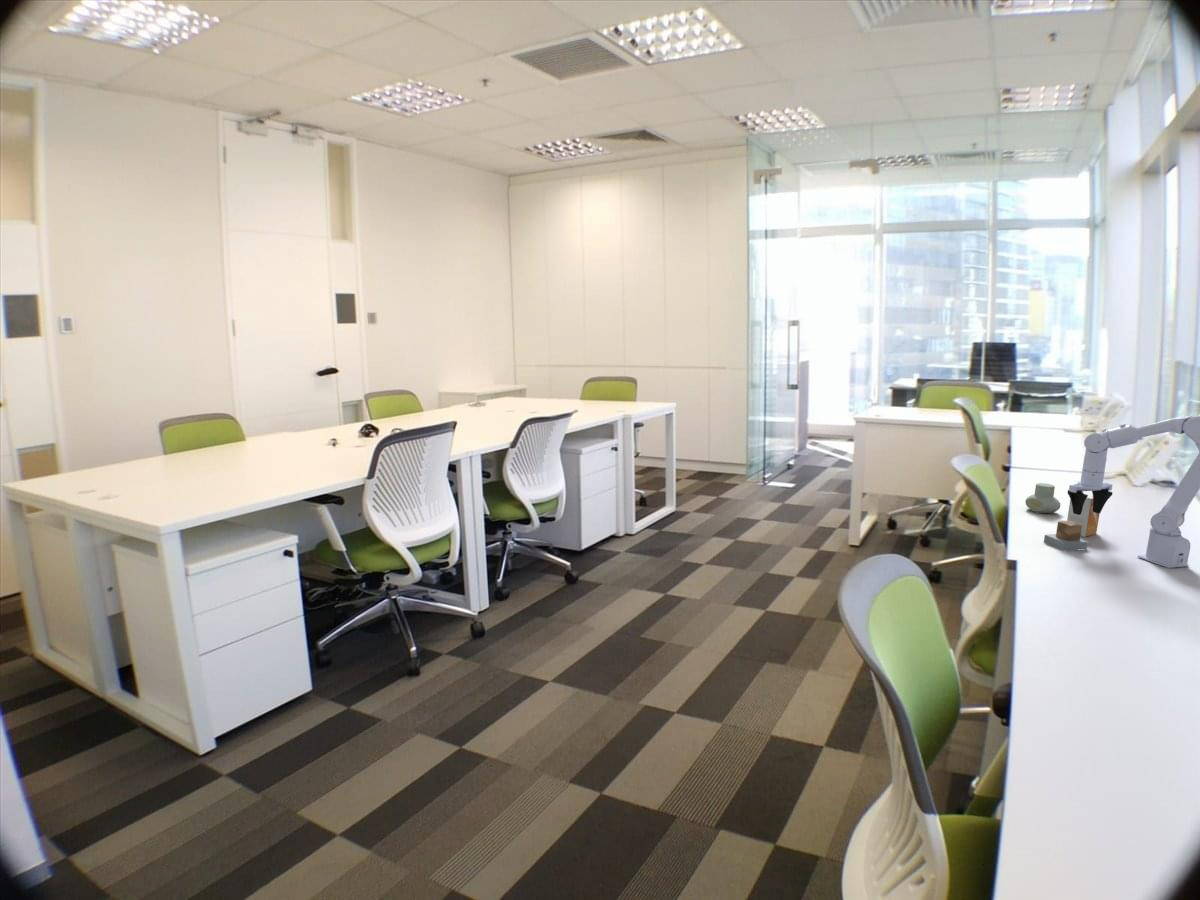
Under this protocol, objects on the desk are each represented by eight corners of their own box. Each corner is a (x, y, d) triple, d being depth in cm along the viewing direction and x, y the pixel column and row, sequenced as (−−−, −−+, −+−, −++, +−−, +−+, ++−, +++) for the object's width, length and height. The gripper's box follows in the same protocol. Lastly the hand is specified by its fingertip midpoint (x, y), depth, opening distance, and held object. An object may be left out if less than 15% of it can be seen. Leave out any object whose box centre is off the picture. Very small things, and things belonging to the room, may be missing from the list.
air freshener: (1063, 514, 261) (1067, 487, 259) (1047, 516, 258) (1051, 489, 256) (1035, 506, 271) (1039, 480, 269) (1020, 508, 268) (1023, 482, 266)
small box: (1085, 537, 235) (1091, 498, 233) (1064, 532, 241) (1070, 494, 238) (1097, 533, 240) (1103, 495, 237) (1076, 528, 245) (1082, 491, 242)
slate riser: (1086, 551, 224) (1087, 541, 223) (1063, 552, 223) (1064, 542, 222) (1065, 542, 232) (1067, 533, 231) (1043, 543, 230) (1044, 534, 230)
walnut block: (1079, 540, 225) (1082, 524, 224) (1068, 541, 224) (1070, 525, 223) (1067, 535, 229) (1069, 520, 228) (1055, 536, 228) (1057, 521, 227)
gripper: (1100, 467, 230) (1093, 508, 233) (1063, 468, 227) (1056, 511, 229) (1121, 472, 224) (1114, 514, 226) (1083, 474, 220) (1076, 517, 223)
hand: (1086, 513), depth 227 cm, fingers open, 7 cm apart
